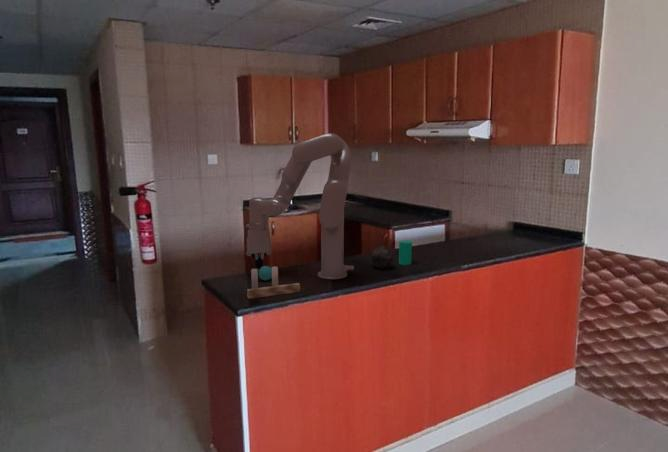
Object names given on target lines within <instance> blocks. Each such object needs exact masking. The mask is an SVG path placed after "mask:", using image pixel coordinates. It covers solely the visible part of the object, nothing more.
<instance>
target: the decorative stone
mask: <svg viewBox="0 0 668 452" xmlns="http://www.w3.org/2000/svg"><path fill="white" fill-rule="evenodd" d="M393 261H394V254H393V251H392V250H391V249H390V248H389V247H387V246H386V245H385V246H384V245H383V246H377V247H376V248H375V249H373V251H372V253H371V262H372V263H373V265H374V266H375V267H376V268H379V269H386V268H389V267H390V266H391V265H392V263H393Z"/></svg>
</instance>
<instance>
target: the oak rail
mask: <svg viewBox="0 0 668 452" xmlns="http://www.w3.org/2000/svg"><path fill="white" fill-rule="evenodd" d="M246 293H247V294H246V296H247V299H257V298H258V299H259V298H262V297H263V298H265V297H271V296H279V295H287V294H295V293H301V284H300V283H299V282H295V283H294V282H293V283H287V284H278V286H272V285H270V286H263V287H258V288H254V289H252V288H247V289H246Z"/></svg>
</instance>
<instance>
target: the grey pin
mask: <svg viewBox="0 0 668 452" xmlns="http://www.w3.org/2000/svg"><path fill="white" fill-rule="evenodd" d="M258 273H259V269H257V268H251V270H250V275H251V276H250V277H251V289H254V288H259V282H258V281H259V274H258Z"/></svg>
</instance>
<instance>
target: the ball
mask: <svg viewBox="0 0 668 452" xmlns="http://www.w3.org/2000/svg"><path fill="white" fill-rule="evenodd" d="M258 278H260V279H261V280H262V281H269V280H272V267H270V266H268V265H263V266H261V268H259V269H258Z"/></svg>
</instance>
